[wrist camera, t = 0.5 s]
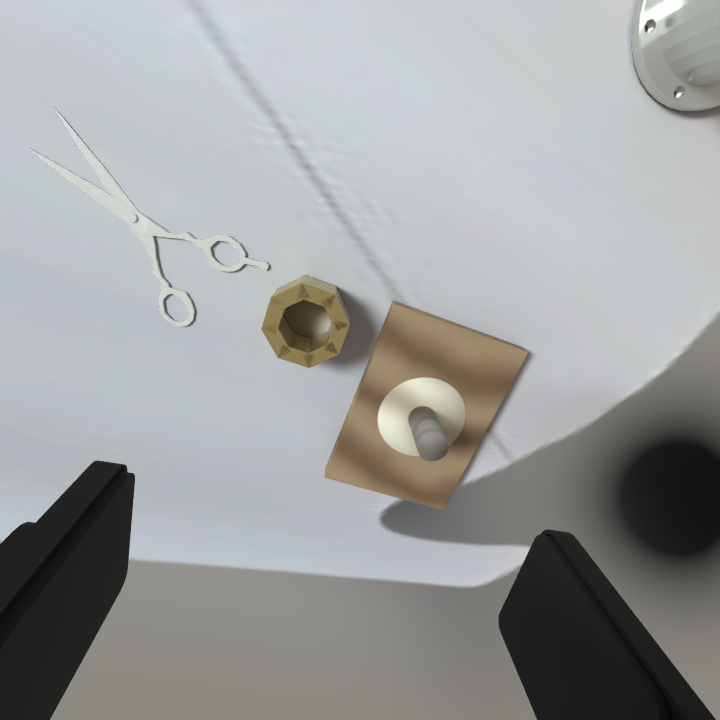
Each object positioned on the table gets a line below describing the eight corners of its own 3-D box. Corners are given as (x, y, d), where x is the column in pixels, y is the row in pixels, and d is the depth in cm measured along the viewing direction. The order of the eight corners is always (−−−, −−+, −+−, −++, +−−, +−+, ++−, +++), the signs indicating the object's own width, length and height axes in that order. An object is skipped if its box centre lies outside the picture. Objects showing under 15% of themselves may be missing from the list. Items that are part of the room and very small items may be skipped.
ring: (284, 267, 37) (277, 274, 33) (356, 293, 38) (358, 302, 34) (263, 336, 39) (255, 350, 36) (332, 359, 40) (331, 374, 37)
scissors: (193, 343, 39) (-5, 173, 33) (196, 340, 40) (2, 174, 34) (270, 266, 37) (73, 69, 31) (271, 265, 37) (79, 72, 31)
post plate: (393, 300, 39) (403, 320, 32) (522, 347, 41) (556, 374, 34) (325, 469, 45) (322, 514, 38) (440, 501, 47) (456, 548, 41)
